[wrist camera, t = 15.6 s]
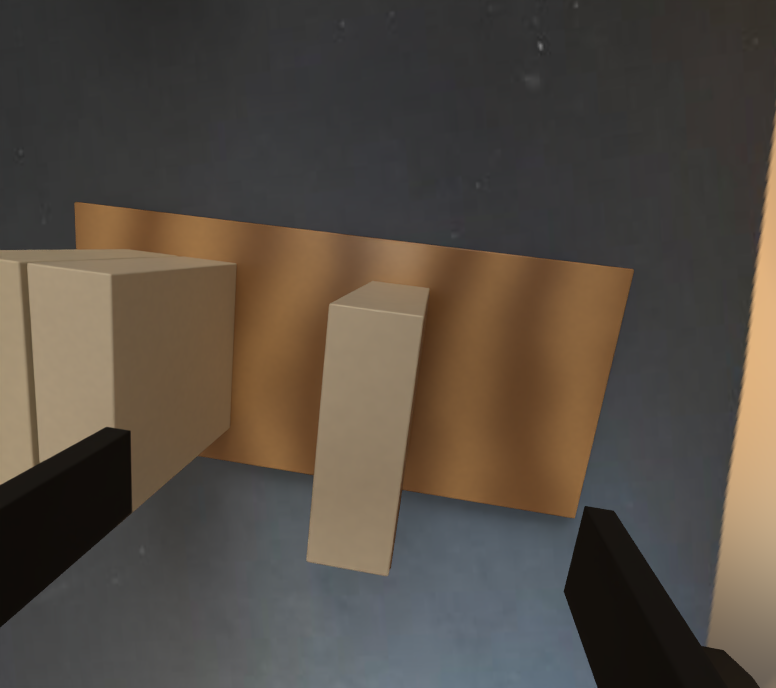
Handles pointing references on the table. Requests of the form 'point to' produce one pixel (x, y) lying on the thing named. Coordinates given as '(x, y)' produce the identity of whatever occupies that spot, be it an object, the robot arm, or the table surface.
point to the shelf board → (438, 359)
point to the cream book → (365, 424)
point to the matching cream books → (114, 356)
